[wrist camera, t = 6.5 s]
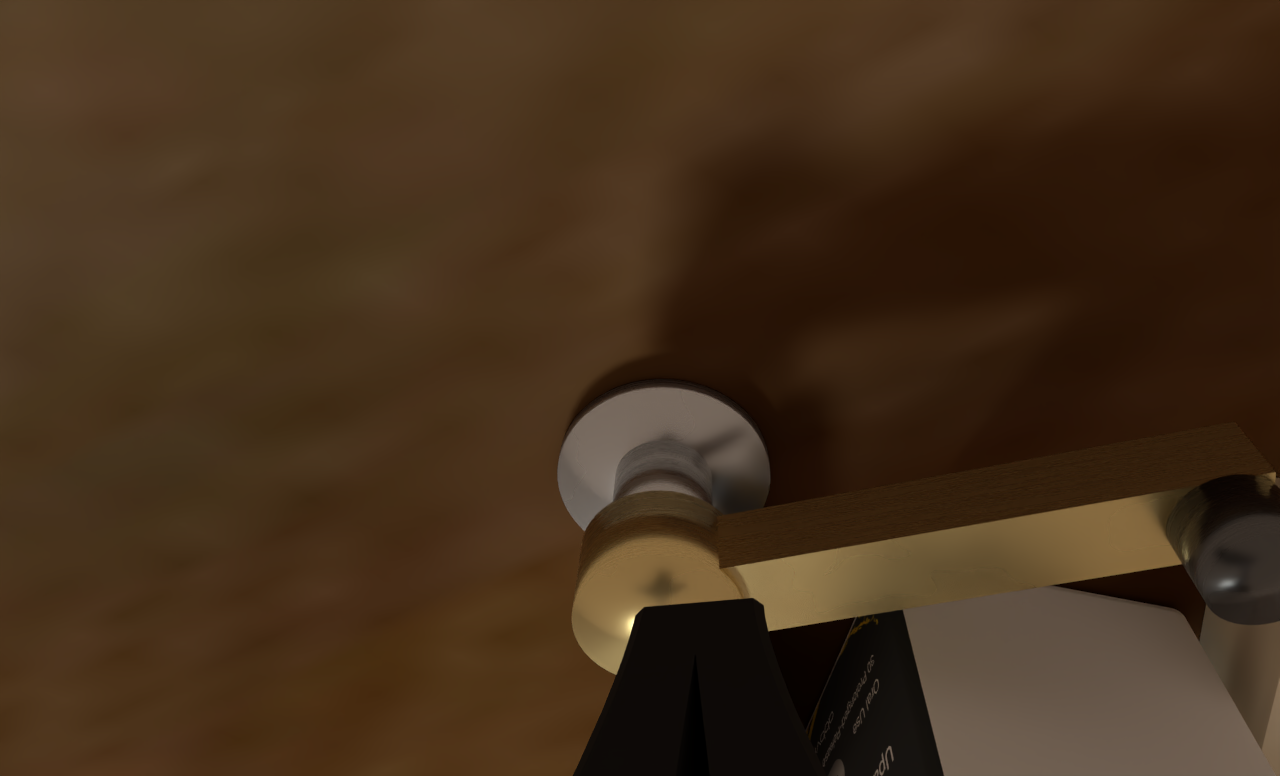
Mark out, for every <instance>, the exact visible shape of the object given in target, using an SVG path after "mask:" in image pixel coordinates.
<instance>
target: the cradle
mask: <svg viewBox="0 0 1280 776" xmlns="http://www.w3.org/2000/svg"><path fill="white" fill-rule="evenodd" d="M1275 484H1276V485H1277V486H1278V487H1279V488H1280V478H1275ZM1199 642H1200V644H1201V646H1202V647H1203V649H1204V651H1205V653H1206V654H1207V656H1208V658H1209V660H1210V661H1211V663H1212V665H1213V667H1214V668H1215V670H1216V672H1217V674H1218V675H1219V677H1220V679H1221V681H1222V682H1223V684H1224V686H1225V688H1226V689H1227V691H1228V693H1229V695H1230V696H1231V698H1232V700H1233V702H1234V703H1235V705H1236V707H1237V708H1238V710H1239V712H1240V714H1241V715H1242V717H1243V719H1244V721H1245V722H1246V724H1247V726H1248V728H1249V729H1250V731H1251V733H1252V735H1253V736H1254V738H1255V740H1256V742H1257V743H1258V745H1259V747H1260V749H1261V750H1262V752H1263V754H1264V756H1265V757H1266V759H1267V761H1268V763H1269V764H1270V766H1271V768H1272V769H1273V771H1274V773H1275V775H1276V776H1280V621H1278V622H1274V623H1269V624H1262V625H1241V624H1236V623H1232V622H1228V621H1226V620H1224V619H1221V618H1220V617H1218V616H1217V615H1215V614H1214V613H1213V612H1212V611H1211V610H1210V609H1209V607H1208V606H1207V604H1206V608H1205V613H1204V619H1203V624H1202V630H1201V635H1200V641H1199Z"/></svg>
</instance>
